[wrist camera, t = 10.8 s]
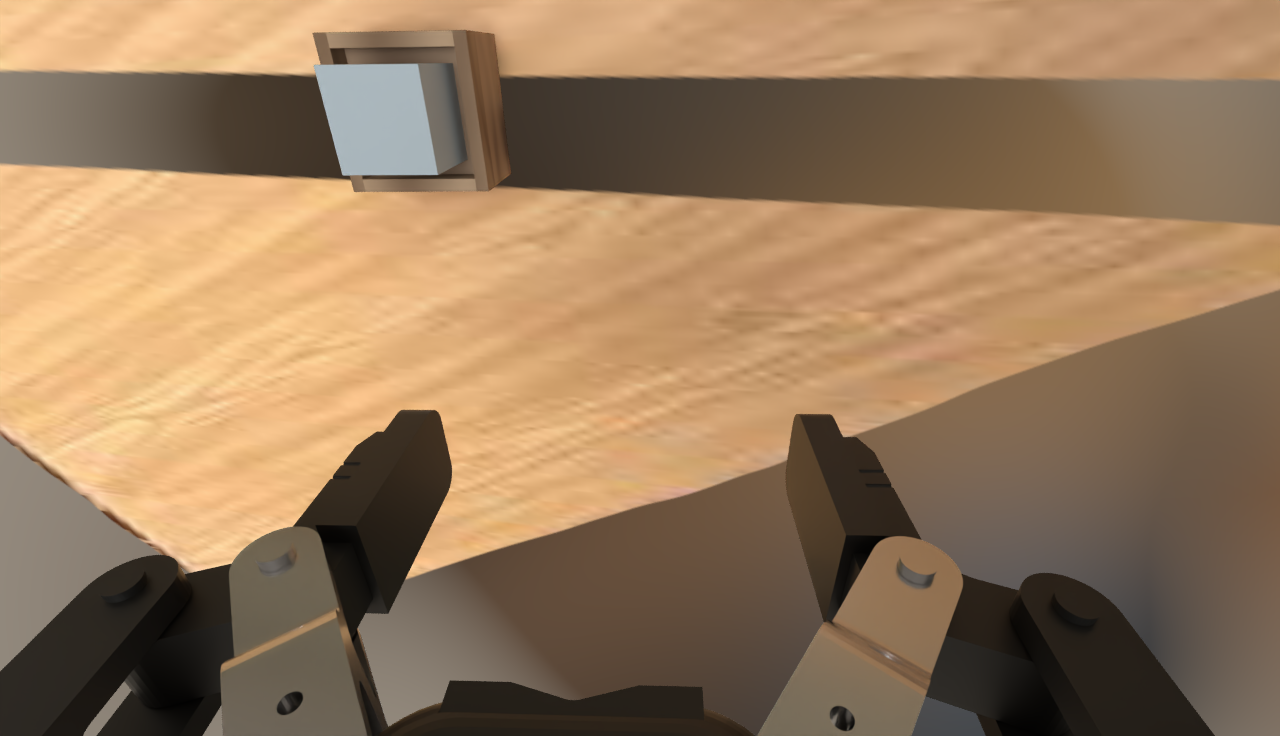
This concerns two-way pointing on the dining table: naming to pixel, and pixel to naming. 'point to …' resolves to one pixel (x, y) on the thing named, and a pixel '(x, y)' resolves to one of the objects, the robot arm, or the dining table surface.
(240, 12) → the dining table surface
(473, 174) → the walnut base
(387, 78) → the bluegrey cube
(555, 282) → the dining table surface
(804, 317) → the dining table surface
